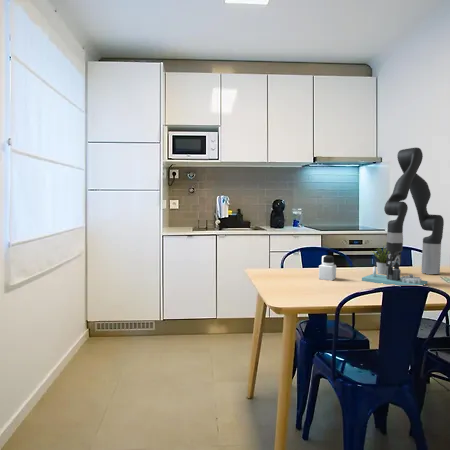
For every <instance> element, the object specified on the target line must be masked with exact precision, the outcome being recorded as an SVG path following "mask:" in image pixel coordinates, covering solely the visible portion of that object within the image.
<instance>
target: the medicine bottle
mask: <svg viewBox="0 0 450 450" xmlns="http://www.w3.org/2000/svg"><path fill="white" fill-rule="evenodd" d="M335 279H337V265H336V264H335V257H334V256H332V255H326V254H325V255H322V256H321V264H320V265H318V280H322V281H323V280H324V281H333V280H335Z"/></svg>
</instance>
